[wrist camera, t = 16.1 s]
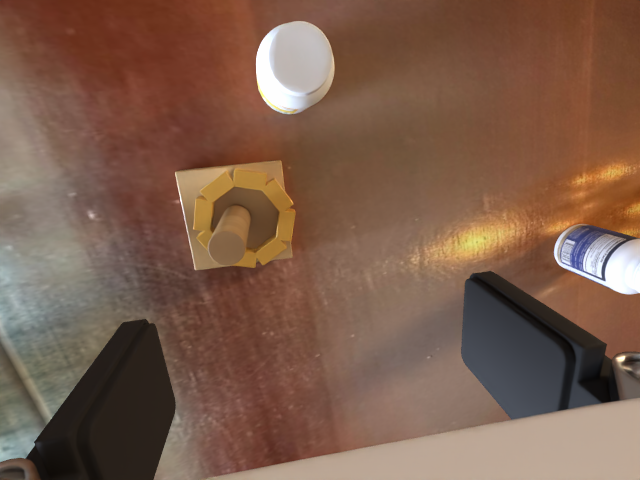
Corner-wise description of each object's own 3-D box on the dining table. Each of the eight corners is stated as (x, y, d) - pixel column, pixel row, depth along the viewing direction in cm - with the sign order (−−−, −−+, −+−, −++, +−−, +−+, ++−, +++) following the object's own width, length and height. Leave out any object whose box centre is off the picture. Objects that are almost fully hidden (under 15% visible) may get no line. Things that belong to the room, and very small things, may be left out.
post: (178, 170, 31) (137, 187, 21) (280, 160, 32) (287, 171, 22) (198, 264, 34) (169, 320, 24) (291, 252, 35) (302, 300, 25)
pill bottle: (604, 243, 40) (706, 276, 31) (568, 277, 40) (657, 319, 31) (580, 212, 38) (681, 237, 29) (543, 248, 39) (630, 283, 30)
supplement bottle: (266, 120, 31) (267, 114, 22) (249, 53, 29) (243, 16, 20) (325, 107, 31) (350, 96, 22) (312, 40, 30) (334, -2, 20)
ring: (200, 162, 30) (197, 164, 28) (299, 177, 31) (300, 179, 30) (193, 256, 32) (190, 261, 30) (285, 265, 33) (286, 271, 32)
